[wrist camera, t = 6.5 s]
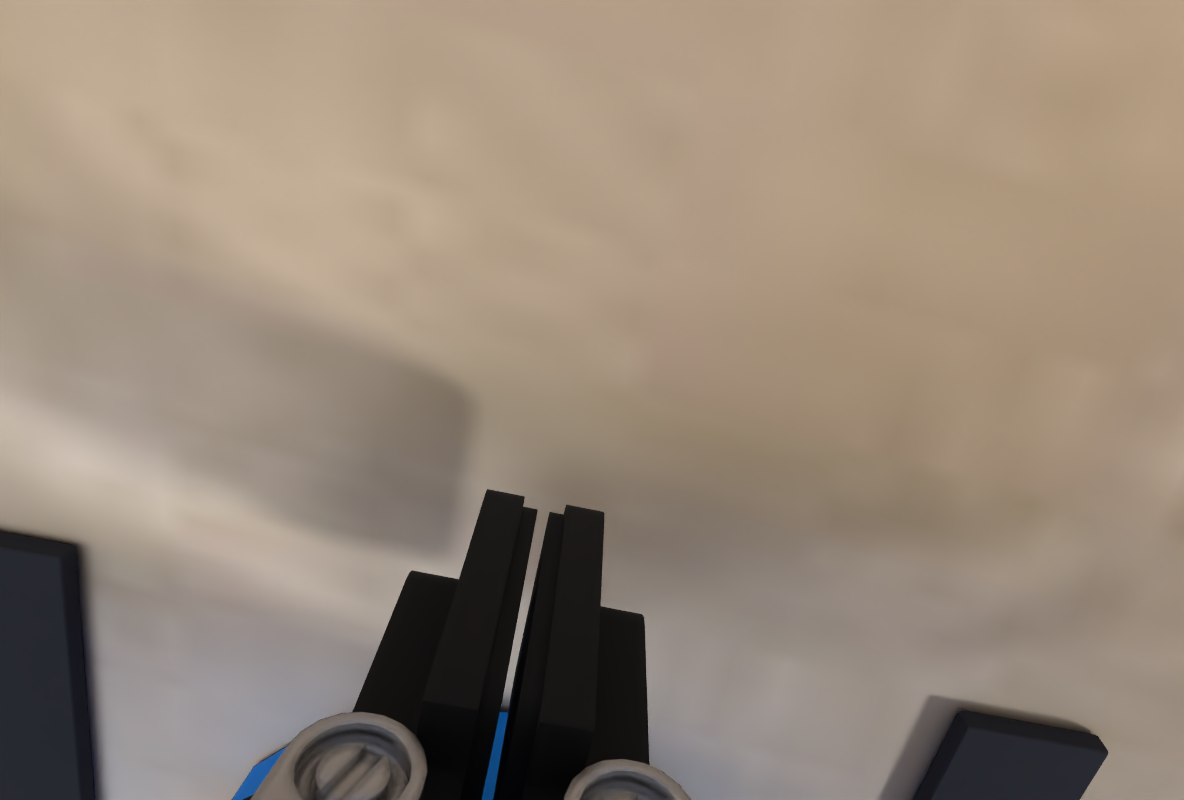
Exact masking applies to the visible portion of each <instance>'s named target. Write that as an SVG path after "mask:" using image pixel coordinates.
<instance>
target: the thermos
mask: <svg viewBox="0 0 1184 800" xmlns="http://www.w3.org/2000/svg"><path fill="white" fill-rule="evenodd" d="M507 716H508V712H500V714H499V719H498V724H497V729H496V733H495V738H494V743H493V748H492V753H491V757H490V762H489V767H488V772H487V776H486V781H485V786H484V791H483V795H482V800H493V797H494V791H495V785H496V780H497V774H498V768H499V762H500V757H501V751H502V745H503V739H504V734H505V728H506V722H507ZM285 748H286V747H285ZM285 748H284V749H282V750H280V751H279V752H277V753H275V754H274V755H272V756H270V757H269V758H267V759H265V760H264V761H262V762H260V763H259V764H257V765H255V766H254V767H253V769H252V770H251V772H250V773H249V775H248V776H247V778H246V779H245V781H244V782H243V784H242V785H241V787H240V788H239V790H238V791H237V793H236V794H235V796H234V797H233V799H232V800H243V799H245V798H247V797H249V796H251V795H253V794H254V793H255V792H256V790H257V789H258V788H259V786H260V785H261V783H262V782H263V780H264V779H265V777H266V776H267V774H268V773H269V772H270V770H271V769H272V767H273V766H274V764H275V763H276V761H277V760H278V759H279V757H280V756H281V754H282V753H283V751H284V750H285Z"/></svg>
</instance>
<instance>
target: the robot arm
mask: <svg viewBox="0 0 1184 800" xmlns="http://www.w3.org/2000/svg"><path fill="white" fill-rule="evenodd" d="M524 498H525V497H524V496H519V495H514V494H509V493H504V492H499V491H494V490H489V489H487V491H486V494H485V497H484V500H483V503H482V507H481V510H480V513H479V516H478V520H477V523H476V526H475V529H474V533H473V536H472V539H471V542H470V546H469V549H468V552H467V555H466V559H465V562H464V565H463V568H462V572H461V575H460V578H459V579H454V578H448V577H443V576H438V575H433V574H427V573H422V572H417V571H411V572H410V573H409V575H408V577H407V579H406V581H405V584H404V586H403V589H402V591H401V594H400V596H399V599H398V601H397V603H396V606H395V608H394V611H393V613H392V616H391V618H390V621H389V623H388V626H387V628H386V631H385V633H384V636H383V638H382V641H381V643H380V645H379V648H378V650H377V653H376V655H375V658H374V660H373V663H372V665H371V668H370V670H369V673H368V675H367V678H366V680H365V682H364V685H363V687H362V690H361V692H360V695H359V697H358V700H357V702H356V705H355V707H354V710H353V712H352V713H341V714H338V715H334V716H331V717H328V718H325V719H321V720H319V721H317V722H316V723H314V724H312V725H311V726H309V727H307V728H306V729H304V730H302V731H301V732H300V733H299V734H298V735H297V736H296V737H295V738H294V739H293V741H292V742H291V743H290V744H289V745H288V746H287V747H286V748H285V750H284V751H283V753H282V754H281V756H280V757H279V759H278V760H277V761H276V763H275V764H274V766H273V767H272V769H271V770H270V772H269V773H268V774H267V776H266V777H265V779H264V780H263V782H262V783H261V785H260V786H259V788H258V789H257V790H256V792H255V793H254V794H253V795H251V796H249V797H247V798H245V799H243V800H482V795H483V791H484V786H485V781H486V776H487V772H488V767H489V762H490V757H491V753H492V748H493V743H494V738H495V733H496V729H497V724H498V719H499V714H500V708H501V703H502V698H503V693H504V688H505V682H506V677H507V671H508V666H509V661H510V655H511V650H512V645H513V639H514V634H515V629H516V623H517V618H518V612H519V607H520V602H521V596H522V591H523V586H524V580H525V575H526V570H527V564H528V559H529V553H530V548H531V543H532V537H533V532H534V527H535V521H536V516H537V509H532V508H527V507H523V503H524ZM603 535H604V512H601V511H596V510H591V509H586V508H581V507H575V506H570V505H566V508H565V512H564V515H563V514H558V513H553V512H550V513H549V517H548V521H547V526H546V531H545V535H544V540H543V545H542V549H541V554H540V559H539V563H538V568H537V573H536V577H535V582H534V587H533V591H532V596H531V601H530V605H529V610H528V615H527V619H526V624H525V629H524V633H523V638H522V643H521V647H520V652H519V657H518V662H517V666H516V672H515V677H514V682H513V688H512V693H511V699H510V705H509V711H508V716H507V722H506V728H505V734H504V739H503V745H502V751H501V757H500V762H499V768H498V774H497V780H496V785H495V791H494V797H493V800H691V799H690V798H689V796H688V795H687V794H686V793H685V791H684V790H683V789H682V788H681V786H680V785H679V784H678V783H676V782H675V781H674V780H673V779H671V778H670V777H669V776H667V775H666V774H665V773H664V772H662V771H660V770H658V769H656V768H653V767H651V766H649V744H648V713H647V682H646V651H645V624H644V617H643V615H642V614H638V613H632V612H627V611H622V610H617V609H611V608H606V607H601V606H600V603H601V580H602V558H603Z"/></svg>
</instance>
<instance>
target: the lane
mask: <svg viewBox="0 0 1184 800" xmlns="http://www.w3.org/2000/svg"><path fill="white" fill-rule="evenodd" d="M1107 755H1108V750H1107V749H1106V747H1105V746H1104V744H1103V743H1102V742H1101V740H1100V739H1099V737H1098V736H1096V735H1092V734H1087V733H1081V732H1076V731H1071V730H1065V729H1060V728H1054V727H1049V726H1044V725H1038V724H1033V723H1028V722H1022V721H1017V720H1011V719H1006V718H1001V717H995V716H990V715H984V714H979V713H974V712H968V711H963V710H960V711H959V712H958V714H957V716H956V717H955V719H954V721H953V723H952V725H951V727H950V729H949V731H948V733H947V735H946V737H945V739H944V741H943V743H942V745H941V747H940V749H939V751H938V753H937V755H936V757H935V759H934V761H933V763H932V765H931V767H930V769H929V771H928V773H927V775H926V777H925V779H924V780H923V782H922V784H921V786H920V788H919V790H918V792H917V794H916V796H915V798H914V800H1080V798H1081V797H1082V795H1083V793H1084V792H1085V790H1086V789H1087V787H1088V785H1089V784H1090V782H1091V781H1092V779H1093V777H1094V776H1095V774H1096V773H1097V771H1098V769H1099V768H1100V766H1101V765H1102V763H1103V761H1104V760H1105V758H1106V757H1107ZM0 800H94V789H93V776H92V763H91V750H90V737H89V723H88V710H87V697H86V684H85V671H84V658H83V645H82V632H81V619H80V606H79V593H78V580H77V567H76V554H75V547H74V546H73V545H69V544H63V543H58V542H53V541H47V540H42V539H36V538H31V537H26V536H20V535H15V534H10V533H4V532H0Z"/></svg>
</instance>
